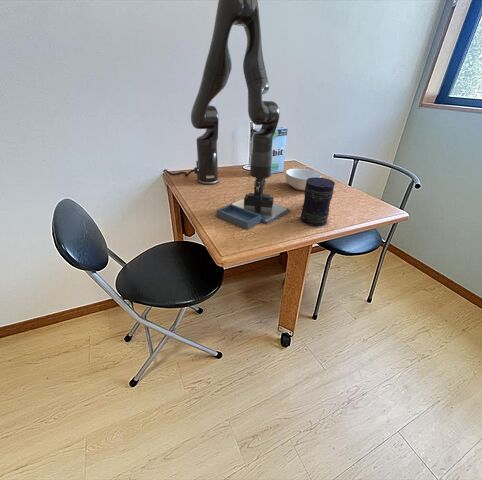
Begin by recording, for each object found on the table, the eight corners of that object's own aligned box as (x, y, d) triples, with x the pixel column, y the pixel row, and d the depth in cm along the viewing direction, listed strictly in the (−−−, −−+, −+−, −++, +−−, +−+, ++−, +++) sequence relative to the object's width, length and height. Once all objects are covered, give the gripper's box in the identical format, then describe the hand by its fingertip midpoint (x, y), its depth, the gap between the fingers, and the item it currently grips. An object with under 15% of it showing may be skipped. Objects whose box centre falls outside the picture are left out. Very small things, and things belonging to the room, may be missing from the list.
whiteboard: (225, 207, 107) (225, 205, 107) (249, 197, 118) (249, 195, 117) (267, 224, 97) (267, 221, 97) (289, 211, 108) (289, 208, 107)
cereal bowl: (321, 195, 124) (324, 180, 121) (284, 192, 125) (286, 177, 121) (316, 182, 139) (318, 169, 135) (283, 180, 139) (285, 166, 136)
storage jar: (297, 214, 106) (303, 176, 98) (322, 214, 106) (330, 177, 99) (303, 226, 97) (310, 186, 89) (330, 226, 98) (339, 187, 90)
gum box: (278, 169, 155) (282, 126, 143) (283, 172, 151) (288, 128, 140) (249, 174, 145) (251, 128, 134) (254, 177, 142) (256, 130, 130)
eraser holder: (216, 216, 101) (216, 209, 99) (231, 209, 106) (231, 203, 105) (247, 229, 93) (247, 222, 92) (261, 221, 99) (261, 215, 97)
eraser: (243, 207, 106) (244, 196, 103) (245, 203, 110) (246, 191, 107) (271, 210, 105) (273, 198, 102) (272, 205, 109) (273, 194, 106)
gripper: (253, 157, 105) (251, 198, 114) (247, 167, 93) (246, 213, 101) (273, 158, 104) (269, 200, 113) (269, 169, 92) (266, 215, 101)
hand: (258, 206), depth 107 cm, fingers closed on eraser, 4 cm apart
